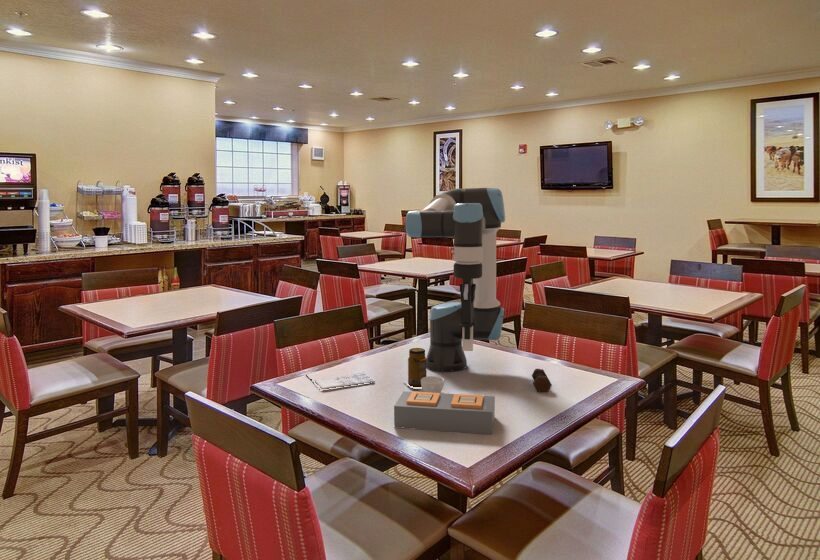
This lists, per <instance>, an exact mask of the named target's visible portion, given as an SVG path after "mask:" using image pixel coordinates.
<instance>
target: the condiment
mask: <svg viewBox="0 0 820 560" xmlns="http://www.w3.org/2000/svg"><path fill="white" fill-rule="evenodd" d="M408 355H409V356H408V358H407V366H408V367H407V377H408V378H407V382H408V384H409V385H410V386H413V387H422V386H421V379H422V378H424V377H427V376H428V375H427V367H426V364H427V363H426V357H427V356H426V349H425V348H422V347H412V348H410V349H409V350H408ZM407 387H408V388H409V386H407ZM410 390H411V391H414V390H413V388H411V389H410Z"/></svg>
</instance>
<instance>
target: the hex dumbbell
mask: <svg viewBox="0 0 820 560" xmlns="http://www.w3.org/2000/svg"><path fill="white" fill-rule="evenodd" d="M531 377H532V379H533V381H532V385H533V387H534V389H535V391H536V392H537V393H548V392H549V390H550V389H551V387H552V382H551V381H550V379H549V378H548V375H547V373H546V371H545V370H544V369H543V368H535V369H534V370H533V371H532V374H531Z"/></svg>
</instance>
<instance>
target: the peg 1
mask: <svg viewBox="0 0 820 560" xmlns="http://www.w3.org/2000/svg"><path fill="white" fill-rule="evenodd" d="M431 399H432V395H424V394H418V395H417V397H416V399H415V400H431Z"/></svg>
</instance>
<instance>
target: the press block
mask: <svg viewBox="0 0 820 560" xmlns="http://www.w3.org/2000/svg"><path fill="white" fill-rule="evenodd" d="M418 394H424V395H432V399H431V400H415V399H416V397H417V395H418ZM461 397H476V403H464V402H459V401H460V398H461ZM495 399H496V397H495V395H492V396H491V395H480V394H467V393H466V394H465V393H463V394H462V393H448V394H444V393H432V392H417V391H415V390H411V391H406V390H405V391H404V390H403V391H402V392H401V394H400V396H399V398H397V401H396V402H395V404H394V405H393V418H394V419H393V420H394V421H393V423H394V425H393V426H395V427H404V428H403V429H409V428H415V429H414V430H423V429H424V430H425V431H426V430H427V431H440V432H453V433H465V434H466V433H470V434H482V435H493V432H494V425H495V411H496V409H495V408H496V407H495V406H496V404H495V403H496V401H495ZM395 427H394V428H395ZM424 430H423V431H424Z"/></svg>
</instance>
